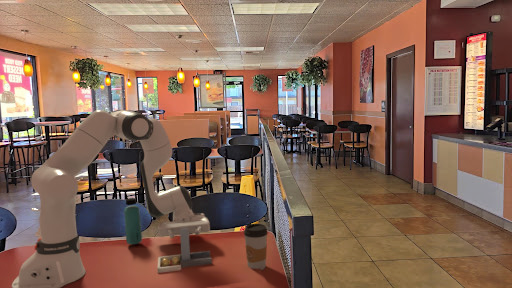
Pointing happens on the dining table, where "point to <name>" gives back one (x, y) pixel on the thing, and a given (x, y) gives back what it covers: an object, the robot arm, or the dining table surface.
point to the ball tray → (168, 268)
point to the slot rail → (197, 259)
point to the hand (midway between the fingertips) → (184, 234)
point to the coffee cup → (256, 245)
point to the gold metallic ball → (165, 262)
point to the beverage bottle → (132, 222)
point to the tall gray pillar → (185, 243)
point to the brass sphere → (176, 260)
